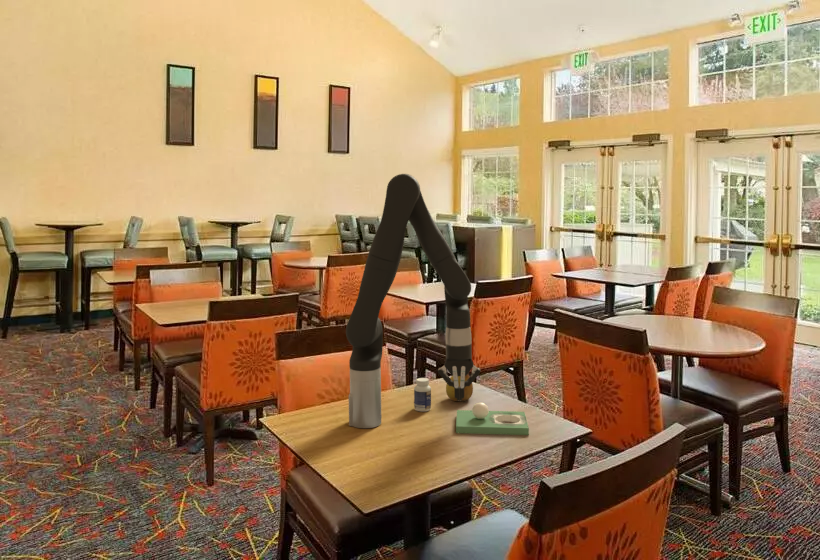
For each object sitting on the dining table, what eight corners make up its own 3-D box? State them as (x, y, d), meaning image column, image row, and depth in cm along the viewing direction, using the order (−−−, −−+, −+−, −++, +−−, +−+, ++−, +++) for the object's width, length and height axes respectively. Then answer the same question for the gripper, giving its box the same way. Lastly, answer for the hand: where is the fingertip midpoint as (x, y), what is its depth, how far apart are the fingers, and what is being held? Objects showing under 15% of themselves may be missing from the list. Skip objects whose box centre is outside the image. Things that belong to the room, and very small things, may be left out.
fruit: (442, 397, 213) (442, 362, 212) (467, 394, 216) (467, 360, 214) (451, 405, 205) (451, 369, 203) (477, 402, 208) (477, 366, 206)
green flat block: (456, 433, 180) (456, 426, 180) (456, 416, 194) (456, 410, 194) (529, 435, 178) (529, 428, 178) (524, 418, 192) (524, 411, 192)
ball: (472, 421, 184) (472, 405, 184) (472, 415, 189) (472, 400, 188) (488, 421, 184) (488, 405, 183) (488, 415, 188) (488, 400, 188)
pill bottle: (429, 412, 198) (429, 382, 197) (412, 411, 199) (412, 381, 198) (432, 407, 203) (432, 377, 202) (416, 406, 204) (415, 376, 203)
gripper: (435, 345, 181) (436, 403, 183) (481, 344, 179) (482, 403, 181) (436, 339, 188) (437, 395, 190) (481, 339, 187) (481, 395, 189)
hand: (459, 399), depth 186 cm, fingers closed
